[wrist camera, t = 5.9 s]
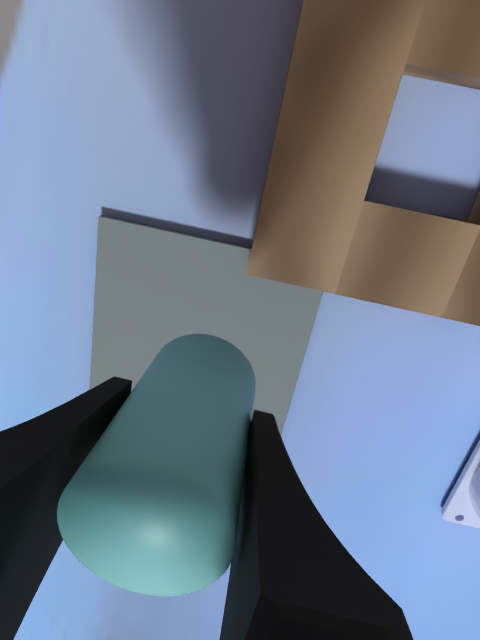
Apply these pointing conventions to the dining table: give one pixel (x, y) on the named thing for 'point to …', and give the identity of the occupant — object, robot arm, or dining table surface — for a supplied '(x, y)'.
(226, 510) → the peg
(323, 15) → the holder block
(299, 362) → the slate mat
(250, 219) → the dining table surface
